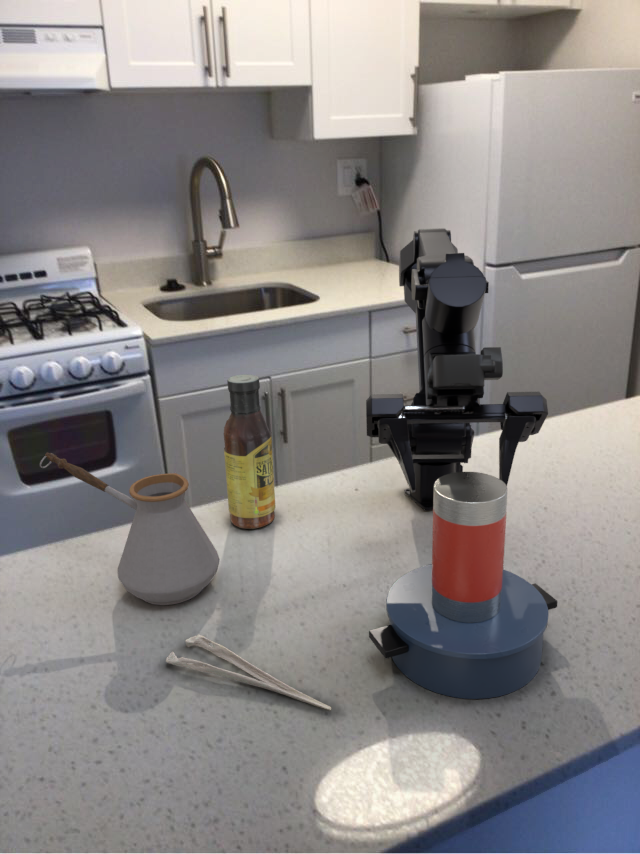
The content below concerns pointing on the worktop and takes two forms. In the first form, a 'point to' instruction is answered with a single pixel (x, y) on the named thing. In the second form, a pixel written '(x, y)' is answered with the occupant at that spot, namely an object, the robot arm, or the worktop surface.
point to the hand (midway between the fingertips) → (458, 490)
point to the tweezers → (233, 658)
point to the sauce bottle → (248, 456)
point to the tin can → (468, 545)
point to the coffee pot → (159, 538)
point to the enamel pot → (465, 638)
